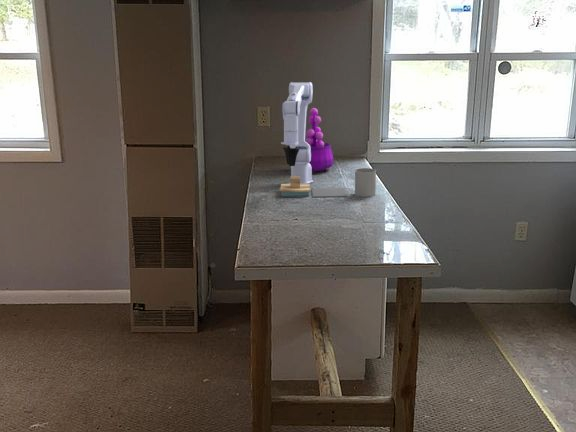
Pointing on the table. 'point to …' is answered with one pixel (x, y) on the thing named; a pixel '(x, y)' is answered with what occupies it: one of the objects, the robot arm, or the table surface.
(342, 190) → the rubber mat
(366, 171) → the cup
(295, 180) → the oak cover
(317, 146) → the decorative plant
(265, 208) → the table surface
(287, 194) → the teal dish
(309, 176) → the robot arm
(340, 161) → the table surface
